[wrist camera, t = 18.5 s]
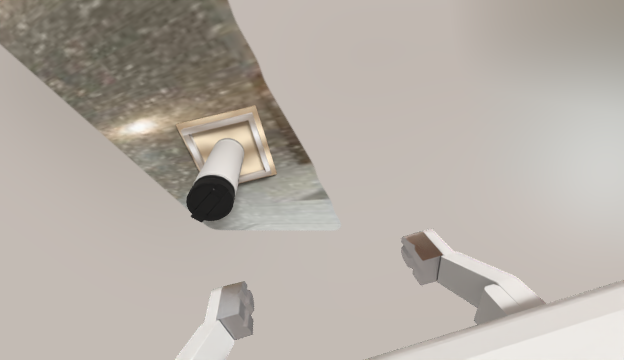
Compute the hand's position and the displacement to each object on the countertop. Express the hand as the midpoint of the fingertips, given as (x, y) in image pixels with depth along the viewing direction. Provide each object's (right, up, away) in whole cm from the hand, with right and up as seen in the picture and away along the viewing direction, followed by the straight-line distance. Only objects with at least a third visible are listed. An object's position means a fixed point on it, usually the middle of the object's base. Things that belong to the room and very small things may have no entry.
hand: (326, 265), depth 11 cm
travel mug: (-19, +10, +38) cm, 43 cm away
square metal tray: (-18, +11, +38) cm, 44 cm away
